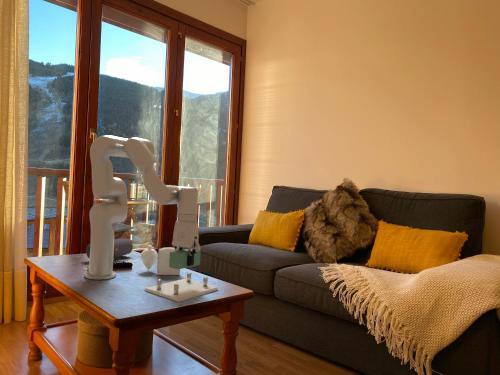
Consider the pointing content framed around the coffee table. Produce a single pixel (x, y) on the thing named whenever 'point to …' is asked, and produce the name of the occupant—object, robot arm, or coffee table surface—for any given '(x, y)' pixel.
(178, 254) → the board block
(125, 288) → the coffee table surface
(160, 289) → the standoff plate
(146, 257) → the spinning top
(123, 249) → the bluetooth speaker
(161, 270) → the photo printer
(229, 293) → the coffee table surface
